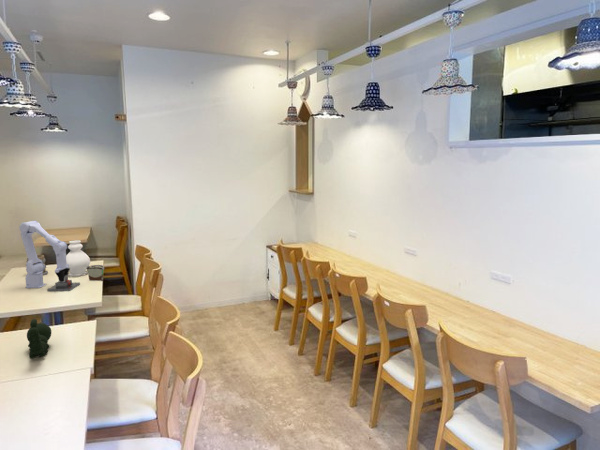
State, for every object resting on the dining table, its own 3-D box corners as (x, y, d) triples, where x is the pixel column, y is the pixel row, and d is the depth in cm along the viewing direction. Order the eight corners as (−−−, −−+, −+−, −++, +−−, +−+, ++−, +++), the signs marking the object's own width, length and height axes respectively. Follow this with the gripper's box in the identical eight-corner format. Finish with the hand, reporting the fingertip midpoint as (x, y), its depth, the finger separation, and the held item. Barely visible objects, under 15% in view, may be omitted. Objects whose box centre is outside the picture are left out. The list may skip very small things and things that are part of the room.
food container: (108, 278, 295) (107, 264, 294) (103, 280, 289) (102, 267, 288) (92, 278, 296) (91, 264, 295) (87, 280, 290) (86, 266, 289)
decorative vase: (67, 272, 312) (64, 239, 308) (93, 270, 317) (90, 238, 314) (61, 278, 295) (58, 244, 291) (88, 276, 301) (86, 242, 297)
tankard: (28, 273, 308) (26, 254, 306) (48, 271, 314) (46, 252, 311) (24, 280, 290) (21, 259, 288) (45, 278, 296) (42, 258, 293)
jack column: (59, 286, 271) (58, 276, 270) (62, 284, 275) (61, 274, 274) (65, 286, 271) (64, 275, 270) (68, 284, 275) (67, 274, 274)
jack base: (47, 291, 266) (46, 283, 265) (58, 285, 280) (58, 277, 279) (69, 291, 267) (69, 283, 266) (80, 284, 280) (79, 277, 280)
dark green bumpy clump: (50, 364, 175) (53, 337, 196) (45, 323, 170) (49, 300, 192) (23, 369, 170) (30, 340, 192) (18, 327, 166) (25, 303, 187)
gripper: (62, 263, 263) (64, 283, 265) (73, 257, 278) (74, 277, 280) (50, 263, 263) (52, 283, 265) (62, 257, 277) (64, 277, 279)
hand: (63, 280), depth 272 cm, fingers closed on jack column, 4 cm apart
